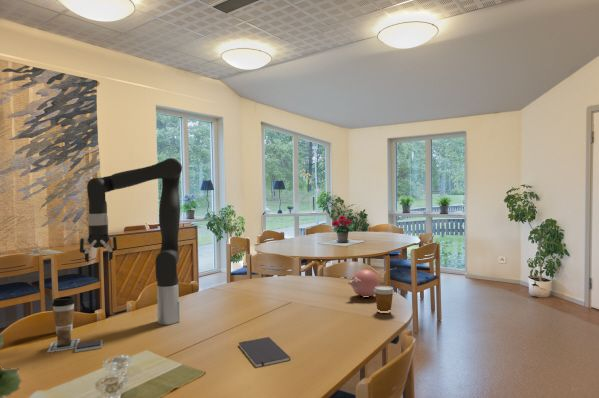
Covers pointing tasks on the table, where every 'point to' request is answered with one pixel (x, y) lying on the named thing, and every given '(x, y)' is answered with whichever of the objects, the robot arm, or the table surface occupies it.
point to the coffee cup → (63, 311)
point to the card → (54, 347)
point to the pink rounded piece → (364, 283)
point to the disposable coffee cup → (383, 297)
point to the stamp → (64, 337)
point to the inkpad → (88, 345)
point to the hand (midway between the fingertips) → (99, 261)
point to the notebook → (263, 351)
